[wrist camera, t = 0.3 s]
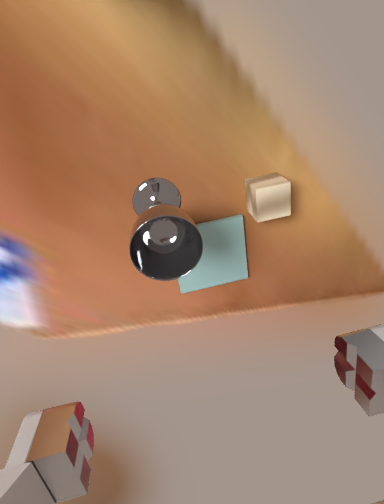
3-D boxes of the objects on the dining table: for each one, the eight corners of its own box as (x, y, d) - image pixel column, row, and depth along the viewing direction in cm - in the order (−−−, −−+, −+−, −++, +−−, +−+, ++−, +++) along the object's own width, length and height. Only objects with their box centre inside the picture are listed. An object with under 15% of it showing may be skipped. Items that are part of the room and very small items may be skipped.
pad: (167, 230, 50) (167, 232, 49) (241, 214, 50) (242, 216, 50) (180, 290, 56) (181, 293, 55) (246, 275, 56) (248, 277, 56)
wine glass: (191, 213, 49) (213, 263, 36) (144, 234, 49) (149, 291, 36) (170, 165, 45) (187, 203, 32) (119, 189, 45) (115, 235, 32)
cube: (244, 179, 48) (255, 189, 43) (276, 172, 48) (290, 182, 44) (246, 209, 50) (257, 222, 46) (277, 202, 51) (290, 215, 46)
